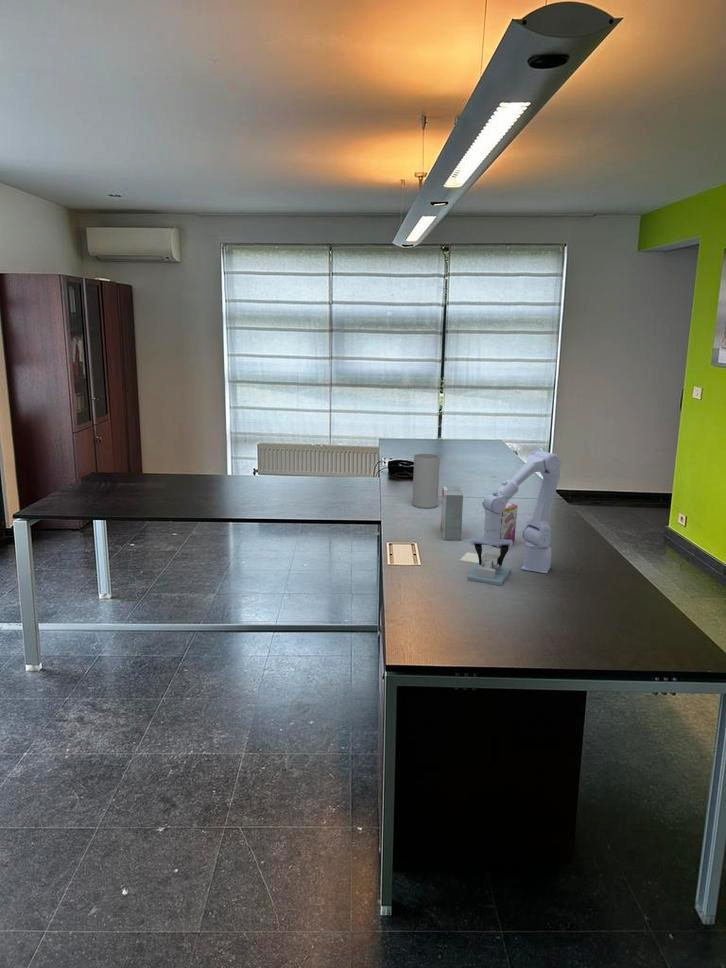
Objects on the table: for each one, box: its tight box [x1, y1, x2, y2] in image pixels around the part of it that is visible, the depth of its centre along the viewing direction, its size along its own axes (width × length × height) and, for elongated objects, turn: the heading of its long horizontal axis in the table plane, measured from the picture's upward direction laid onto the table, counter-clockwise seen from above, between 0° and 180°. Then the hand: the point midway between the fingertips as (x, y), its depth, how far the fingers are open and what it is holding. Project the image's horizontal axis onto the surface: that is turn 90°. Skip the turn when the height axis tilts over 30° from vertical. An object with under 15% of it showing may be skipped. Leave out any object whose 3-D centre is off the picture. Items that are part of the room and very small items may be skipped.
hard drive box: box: [440, 485, 464, 541], centre depth 288 cm, size 16×8×20 cm, turn 178°
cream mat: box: [459, 551, 483, 565], centre depth 260 cm, size 10×10×1 cm
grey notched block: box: [481, 552, 500, 569], centre depth 242 cm, size 6×4×4 cm
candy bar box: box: [490, 502, 518, 549], centre depth 277 cm, size 11×5×16 cm, turn 134°
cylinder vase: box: [412, 453, 441, 509], centre depth 334 cm, size 12×12×25 cm
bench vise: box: [466, 560, 512, 587], centre depth 243 cm, size 12×16×6 cm
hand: (490, 564), depth 243 cm, fingers closed on grey notched block, 7 cm apart
